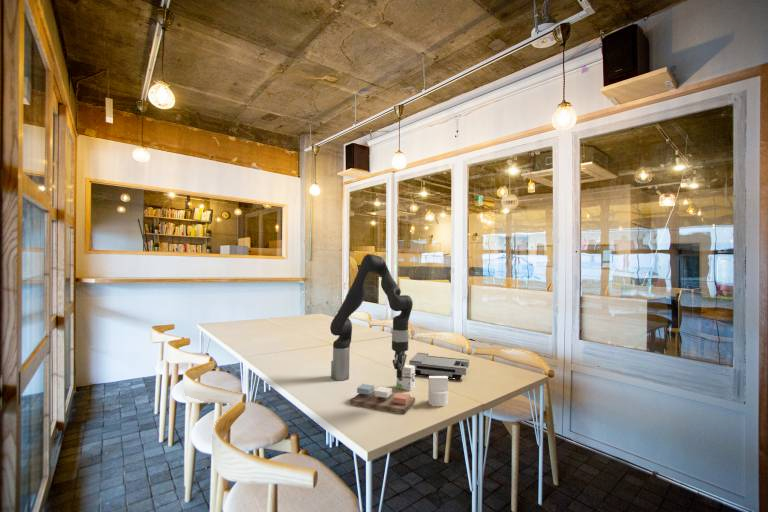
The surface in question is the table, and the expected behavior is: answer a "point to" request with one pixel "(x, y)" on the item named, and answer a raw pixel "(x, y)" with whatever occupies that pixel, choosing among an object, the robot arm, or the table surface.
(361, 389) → the slate-blue key
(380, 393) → the off-white key
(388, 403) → the key panel
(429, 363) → the game console
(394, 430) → the table surface
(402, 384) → the ink box
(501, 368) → the table surface
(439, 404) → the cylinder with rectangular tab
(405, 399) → the rust key
